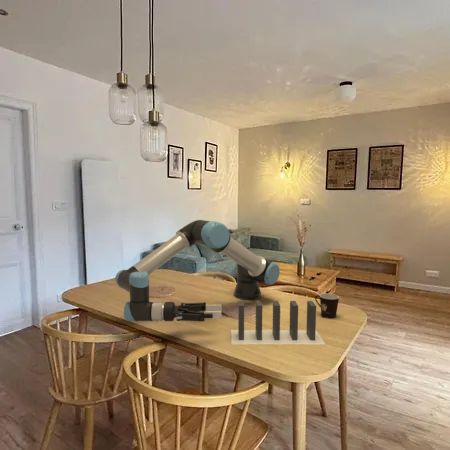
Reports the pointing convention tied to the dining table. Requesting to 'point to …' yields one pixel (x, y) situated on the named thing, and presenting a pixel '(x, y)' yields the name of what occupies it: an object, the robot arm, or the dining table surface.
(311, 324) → the domino
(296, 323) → the domino
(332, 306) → the coffee mug
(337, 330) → the dining table surface
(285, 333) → the mat
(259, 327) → the domino
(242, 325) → the domino
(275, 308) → the domino
